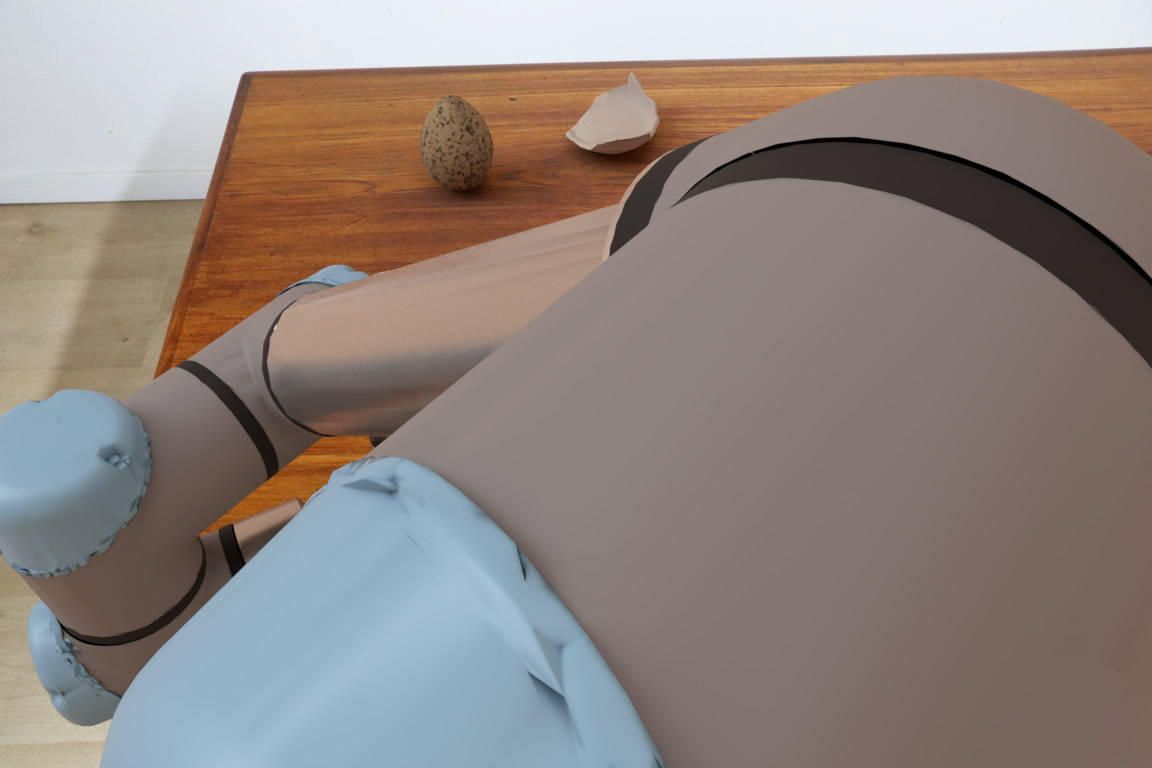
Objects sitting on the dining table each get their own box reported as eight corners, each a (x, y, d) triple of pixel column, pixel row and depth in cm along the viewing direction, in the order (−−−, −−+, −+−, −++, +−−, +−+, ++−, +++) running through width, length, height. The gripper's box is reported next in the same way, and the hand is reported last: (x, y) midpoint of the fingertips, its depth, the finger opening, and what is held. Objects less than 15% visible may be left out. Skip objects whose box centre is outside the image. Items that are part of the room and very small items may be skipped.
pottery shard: (620, 107, 106) (621, 66, 102) (692, 149, 100) (696, 107, 97) (549, 141, 101) (548, 99, 98) (620, 187, 96) (622, 145, 92)
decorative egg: (493, 206, 94) (484, 117, 86) (421, 206, 94) (406, 116, 87) (499, 165, 99) (491, 77, 91) (431, 164, 99) (418, 76, 92)
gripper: (285, 448, 66) (558, 344, 72) (416, 767, 50) (746, 599, 57) (257, 373, 60) (555, 268, 67) (395, 706, 45) (762, 528, 52)
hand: (644, 421), depth 62 cm, fingers open, 13 cm apart
